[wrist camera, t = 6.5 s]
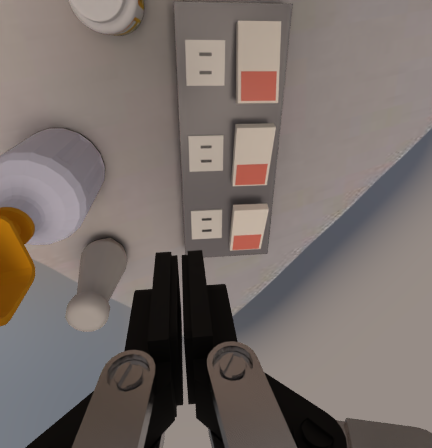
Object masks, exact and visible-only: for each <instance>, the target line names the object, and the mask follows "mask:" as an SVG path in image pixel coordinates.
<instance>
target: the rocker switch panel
mask: <svg viewBox="0 0 432 448" xmlns="http://www.w3.org/2000/svg"><path fill="white" fill-rule="evenodd" d="M292 6H293V4H283V3H236V2H189V1H174V21H175V43H176V64H177V85H178V107H179V128H180V150H181V171H182V193H183V214H184V235H185V255H188V252H187V251H194V250H202V253H203V257H220V256H237V255H254V254H267V253H268V244H269V234H270V224H271V214H272V204H273V194H274V184H275V174H276V164H277V154H278V144H279V135H280V125H281V115H282V105H283V95H284V85H285V75H286V65H287V55H288V45H289V35H290V26H291V16H292ZM238 21H281V43H280V70H279V97H278V103H275V104H236V24H237V22H238ZM262 123H274V125H275V127H276V130H275V137H274V143H273V149H272V155H271V162H270V168H269V174H268V181H267V185H256V186H232V182H231V178H232V165H233V151H234V137H235V124H262ZM265 203H267V205H268V208H269V211H268V216H267V221H266V225H265V230H264V235H263V240H262V244H261V249H250V250H233V251H230V248H229V239H230V229H231V220H232V210H233V205H241V204H265Z"/></svg>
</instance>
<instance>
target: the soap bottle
mask: <svg viewBox="0 0 432 448" xmlns="http://www.w3.org/2000/svg"><path fill="white" fill-rule="evenodd" d="M104 174H105V166H104V163H103V160H102V157H101V154H100V153H99V152H98V150H97V149H96V148H95V146H94V145H93V144H92V142H90V141H89V140H87V139H86V138H85V137H83V136H82V135H80V134H79V133H76V132H73V131H70V130H67V129H64V128H48V129H46V130H43V131H40V132H38V133H35V134H34V135H32V136H30V137H29V138H27V139H26V140H24V141H23V142H21V143H19V144H18V145H16V146H15V147H13V148H12V149H10V150H8V151H7V152H5V153H4V154H2V155H1V156H0V326H3V325H6V324H7V323H8V322H9V321H10V319H11V318H12V316H13V315H14V313H15V311H16V310H17V308H18V306H19V305H20V303H21V301H22V300H23V298H24V296H25V295H26V293H27V291H28V290H29V288H30V286H31V285H32V283H33V281H34V278H35V267H34V264H33V261H32V259H31V257H30V255H29V253H28V251H27V249H26V247H25V246H24V244H26V243H27V244H32V245H45V244H52V243H55V242H57V241H60V240H63V239H65V238H67V237H69V236H70V235H72V234H73V233H74V232H75V231H76V230H78V229H79V228H80V226H81V224H82V223H83V221H84V219H85V217H86V215H87V213H88V211H89V209H90V207H91V205H92V203H93V201H94V199H95V197H96V196H97V194H98V192H99V190H100V188H101V185H102V183H103V181H104Z"/></svg>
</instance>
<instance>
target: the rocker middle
mask: <svg viewBox="0 0 432 448" xmlns="http://www.w3.org/2000/svg"><path fill="white" fill-rule="evenodd" d="M275 130H276V127H275V125H274V123H262V124H235V137H234V151H233V165H232V178H231V182H232V186H256V185H267V181H268V174H269V168H270V162H271V155H272V149H273V143H274V137H275Z"/></svg>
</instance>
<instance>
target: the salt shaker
mask: <svg viewBox="0 0 432 448" xmlns="http://www.w3.org/2000/svg"><path fill="white" fill-rule="evenodd" d="M126 265H127V256H126V253H125V250H124V248H123V246H122V245H121V244H120V243H118V242H116V241H115V240H113V239H112V238H105V239H100V240H96V241H94V242H92V243H90V244H88V246H87V247H86V248H85V249H84V251H83V252H82V255H81V260H80V269H79V279H78V288H77V295H75V296H74V297H73V298H72V299H71V301H70V302H69V303H68V305H67V309H66V316H65V318H66V320H67V322H68V324H69V325H71V326H72V327H73V328H75V329H76V330H80V331H83V332H90V331H94V330H97V329H100V328H101V327H102V326H103V325H104V324H105V323H106V322H107V320H108V317H109V311H110V306H109V303H108V301H109V299H110V298H111V296H112V294H113V292H114V290H115V288H116V286H117V284H118V282H119V280H120V279H121V277H122V275H123V273H124V271H125V269H126Z"/></svg>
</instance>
